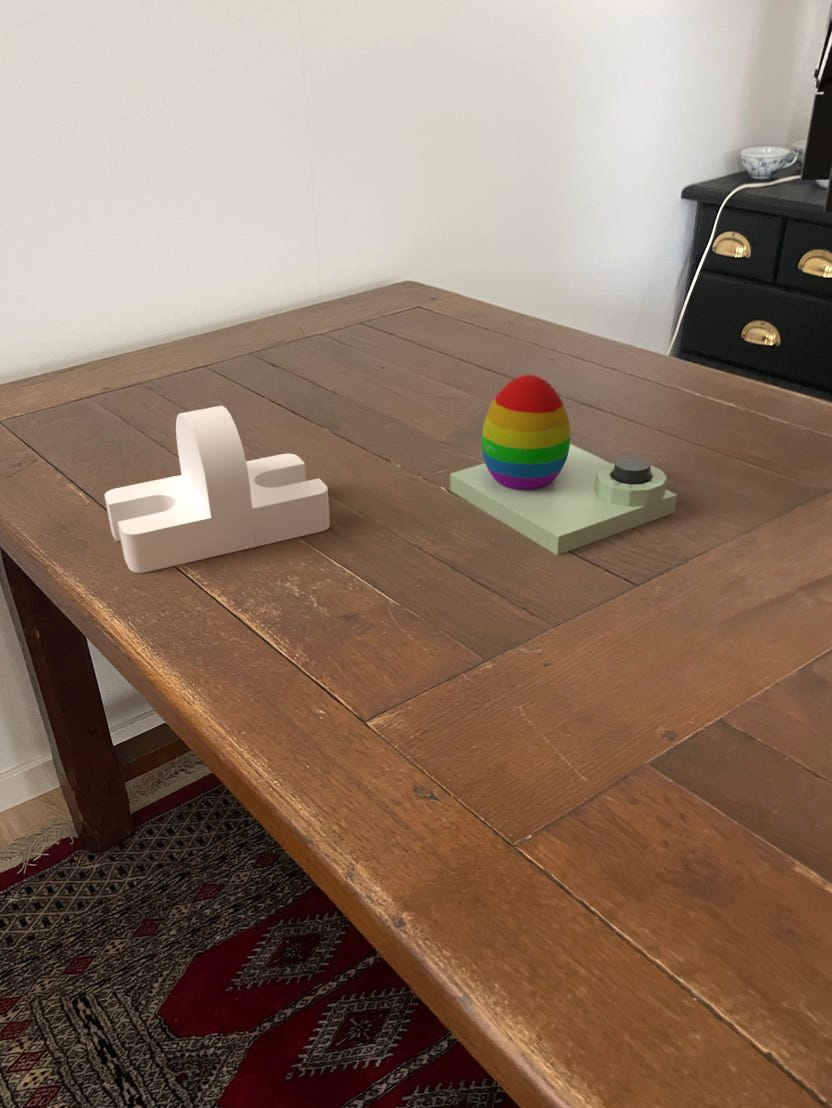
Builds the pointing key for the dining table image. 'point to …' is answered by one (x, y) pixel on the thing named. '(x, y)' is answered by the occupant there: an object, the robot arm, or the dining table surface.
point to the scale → (569, 502)
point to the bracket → (214, 499)
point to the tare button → (631, 470)
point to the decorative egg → (526, 434)
